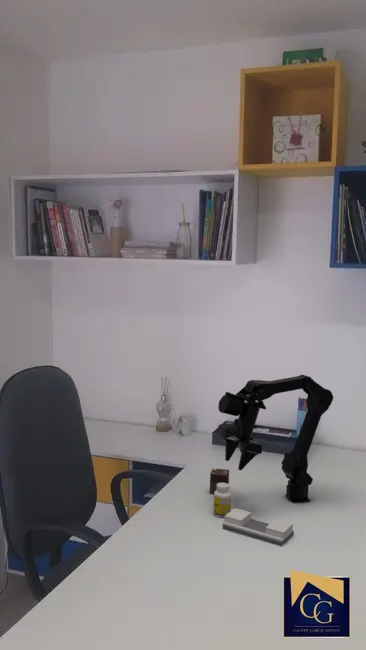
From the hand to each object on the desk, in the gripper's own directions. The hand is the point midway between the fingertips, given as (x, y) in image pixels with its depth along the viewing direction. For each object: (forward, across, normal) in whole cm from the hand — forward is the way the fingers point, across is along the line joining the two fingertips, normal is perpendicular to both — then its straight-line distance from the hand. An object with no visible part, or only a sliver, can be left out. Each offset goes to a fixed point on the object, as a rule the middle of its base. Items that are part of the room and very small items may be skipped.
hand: (233, 465), depth 196 cm
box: (+13, -14, +6) cm, 20 cm away
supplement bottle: (+15, +4, -1) cm, 16 cm away
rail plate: (+14, +18, +4) cm, 23 cm away
